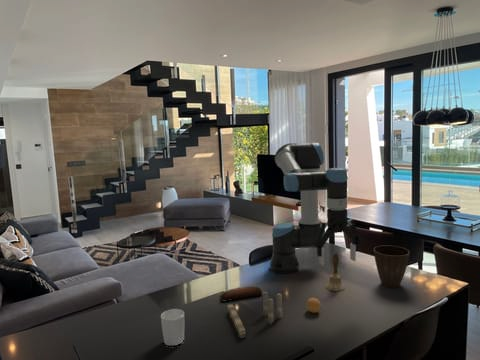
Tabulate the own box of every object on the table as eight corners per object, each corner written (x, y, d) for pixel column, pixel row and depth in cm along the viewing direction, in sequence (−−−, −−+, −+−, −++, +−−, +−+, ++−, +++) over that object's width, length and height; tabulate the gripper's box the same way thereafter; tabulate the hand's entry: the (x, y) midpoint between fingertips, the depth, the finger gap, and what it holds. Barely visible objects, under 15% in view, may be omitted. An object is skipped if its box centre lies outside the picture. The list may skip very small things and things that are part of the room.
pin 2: (267, 322, 135) (266, 299, 134) (272, 321, 135) (272, 298, 134) (269, 324, 133) (268, 301, 132) (274, 323, 133) (273, 300, 132)
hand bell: (343, 283, 167) (342, 250, 165) (346, 291, 159) (346, 256, 157) (324, 283, 168) (324, 250, 166) (327, 291, 159) (326, 256, 158)
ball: (304, 309, 143) (303, 296, 143) (316, 307, 145) (316, 294, 144) (310, 316, 138) (309, 302, 137) (323, 314, 139) (323, 300, 139)
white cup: (164, 336, 128) (162, 309, 127) (186, 334, 128) (185, 308, 127) (161, 349, 120) (159, 321, 119) (185, 347, 121) (183, 319, 119)
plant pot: (392, 276, 173) (393, 243, 172) (416, 288, 159) (417, 252, 157) (366, 281, 169) (366, 247, 167) (389, 293, 155) (389, 257, 153)
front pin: (276, 316, 139) (275, 294, 138) (281, 315, 139) (280, 293, 138) (278, 318, 137) (277, 296, 136) (283, 318, 137) (282, 295, 136)
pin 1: (262, 314, 141) (262, 292, 140) (267, 313, 141) (267, 291, 140) (264, 317, 139) (263, 294, 138) (269, 316, 139) (268, 293, 138)
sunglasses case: (256, 288, 165) (258, 279, 161) (260, 301, 160) (262, 292, 156) (217, 294, 160) (218, 285, 156) (221, 308, 155) (222, 299, 151)
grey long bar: (228, 312, 144) (227, 305, 143) (233, 311, 144) (232, 304, 144) (240, 338, 124) (239, 330, 124) (245, 338, 125) (245, 329, 124)
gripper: (311, 213, 132) (312, 269, 135) (371, 207, 138) (371, 261, 141) (303, 209, 139) (303, 262, 142) (360, 204, 146) (360, 255, 148)
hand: (337, 262), depth 141 cm, fingers open, 13 cm apart
